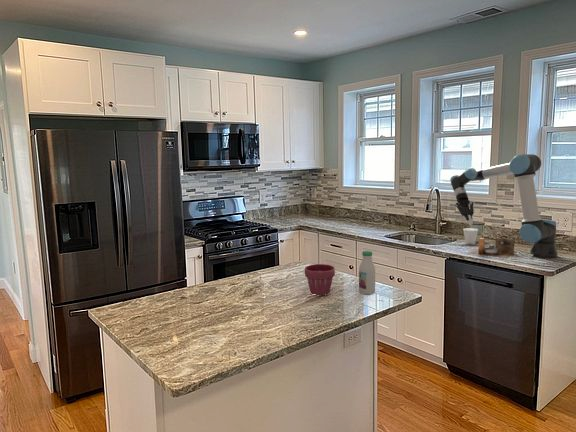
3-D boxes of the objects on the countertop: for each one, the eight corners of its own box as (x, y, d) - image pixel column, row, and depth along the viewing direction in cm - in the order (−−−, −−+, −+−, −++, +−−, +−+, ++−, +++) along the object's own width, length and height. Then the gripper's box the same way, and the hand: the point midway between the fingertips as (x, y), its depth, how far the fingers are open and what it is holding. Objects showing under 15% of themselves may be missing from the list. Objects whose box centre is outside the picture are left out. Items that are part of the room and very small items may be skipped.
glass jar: (467, 240, 333) (467, 221, 331) (481, 240, 332) (482, 221, 330) (471, 242, 323) (472, 223, 321) (486, 242, 322) (486, 223, 320)
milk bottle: (373, 289, 216) (373, 249, 213) (376, 294, 208) (377, 253, 206) (357, 290, 216) (357, 250, 213) (360, 295, 208) (360, 253, 205)
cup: (461, 245, 315) (462, 230, 313) (463, 242, 324) (464, 227, 322) (476, 246, 310) (477, 230, 309) (478, 243, 319) (478, 228, 317)
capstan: (500, 252, 284) (501, 237, 283) (495, 256, 275) (496, 240, 274) (483, 250, 291) (483, 235, 290) (477, 253, 282) (478, 238, 281)
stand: (513, 255, 283) (514, 239, 281) (506, 260, 270) (507, 243, 268) (475, 250, 298) (475, 235, 297) (466, 254, 285) (467, 239, 284)
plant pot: (299, 295, 210) (299, 268, 208) (314, 287, 222) (314, 262, 220) (325, 300, 202) (325, 272, 200) (339, 291, 214) (339, 266, 212)
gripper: (467, 198, 311) (477, 226, 298) (450, 198, 309) (459, 227, 297) (472, 191, 304) (482, 221, 292) (454, 192, 303) (464, 221, 291)
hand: (471, 224), depth 294 cm, fingers closed
